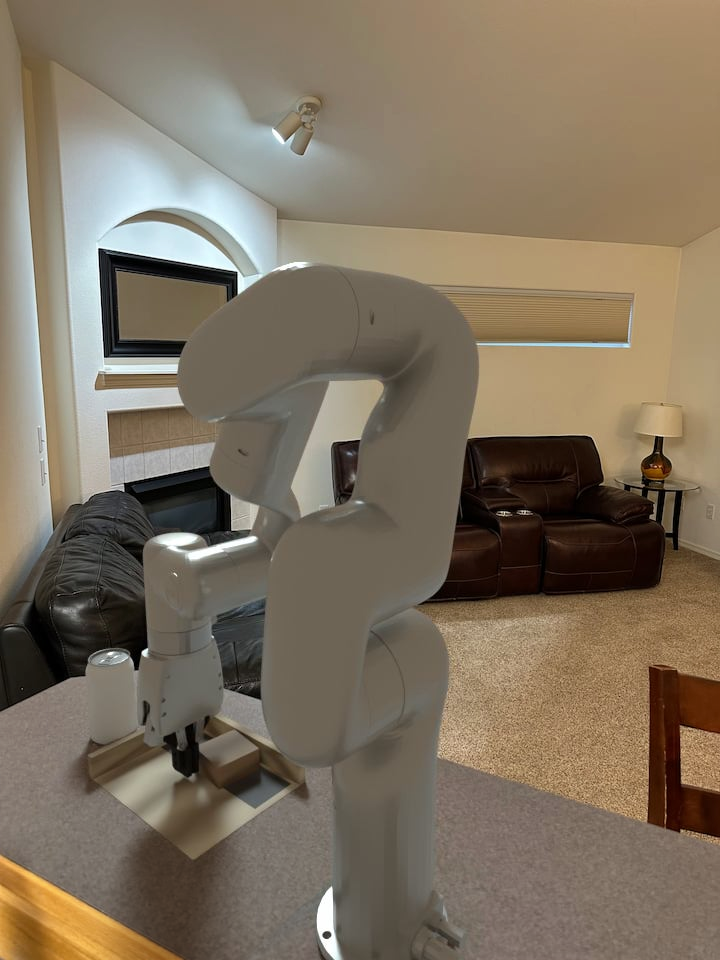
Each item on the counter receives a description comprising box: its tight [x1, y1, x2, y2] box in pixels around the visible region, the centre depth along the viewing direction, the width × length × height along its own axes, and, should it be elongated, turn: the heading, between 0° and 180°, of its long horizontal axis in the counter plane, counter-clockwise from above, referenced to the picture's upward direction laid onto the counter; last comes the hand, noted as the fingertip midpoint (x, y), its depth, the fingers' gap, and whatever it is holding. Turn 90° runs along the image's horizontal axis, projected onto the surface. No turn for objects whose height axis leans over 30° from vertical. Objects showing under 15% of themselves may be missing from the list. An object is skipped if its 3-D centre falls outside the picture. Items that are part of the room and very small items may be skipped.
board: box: [86, 712, 306, 861], centre depth 81 cm, size 22×17×4 cm
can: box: [85, 647, 139, 746], centre depth 92 cm, size 6×6×12 cm
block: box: [199, 729, 260, 790], centre depth 83 cm, size 6×6×3 cm
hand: (186, 770), depth 81 cm, fingers closed
